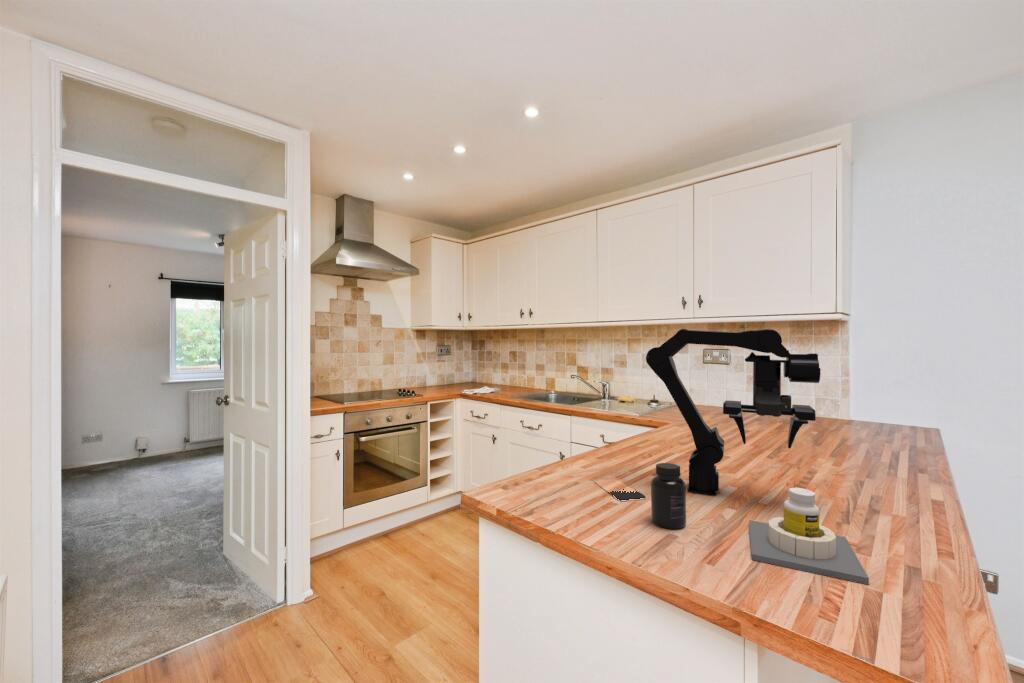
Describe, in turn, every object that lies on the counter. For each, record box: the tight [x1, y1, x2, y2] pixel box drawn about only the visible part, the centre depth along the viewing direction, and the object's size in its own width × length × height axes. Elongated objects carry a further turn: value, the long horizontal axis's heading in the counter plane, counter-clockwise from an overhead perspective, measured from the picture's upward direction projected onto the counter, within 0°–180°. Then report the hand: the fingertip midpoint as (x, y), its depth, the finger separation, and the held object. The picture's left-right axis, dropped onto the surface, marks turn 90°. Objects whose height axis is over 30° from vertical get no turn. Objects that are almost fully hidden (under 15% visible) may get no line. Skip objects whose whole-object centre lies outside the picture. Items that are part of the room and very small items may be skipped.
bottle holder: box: [748, 516, 870, 585], centre depth 78 cm, size 16×16×4 cm
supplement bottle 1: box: [650, 462, 687, 530], centre depth 89 cm, size 7×7×12 cm
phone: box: [610, 489, 646, 500], centre depth 109 cm, size 7×1×15 cm
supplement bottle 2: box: [783, 487, 821, 538], centre depth 78 cm, size 5×5×10 cm
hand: (766, 445), depth 102 cm, fingers open, 9 cm apart
